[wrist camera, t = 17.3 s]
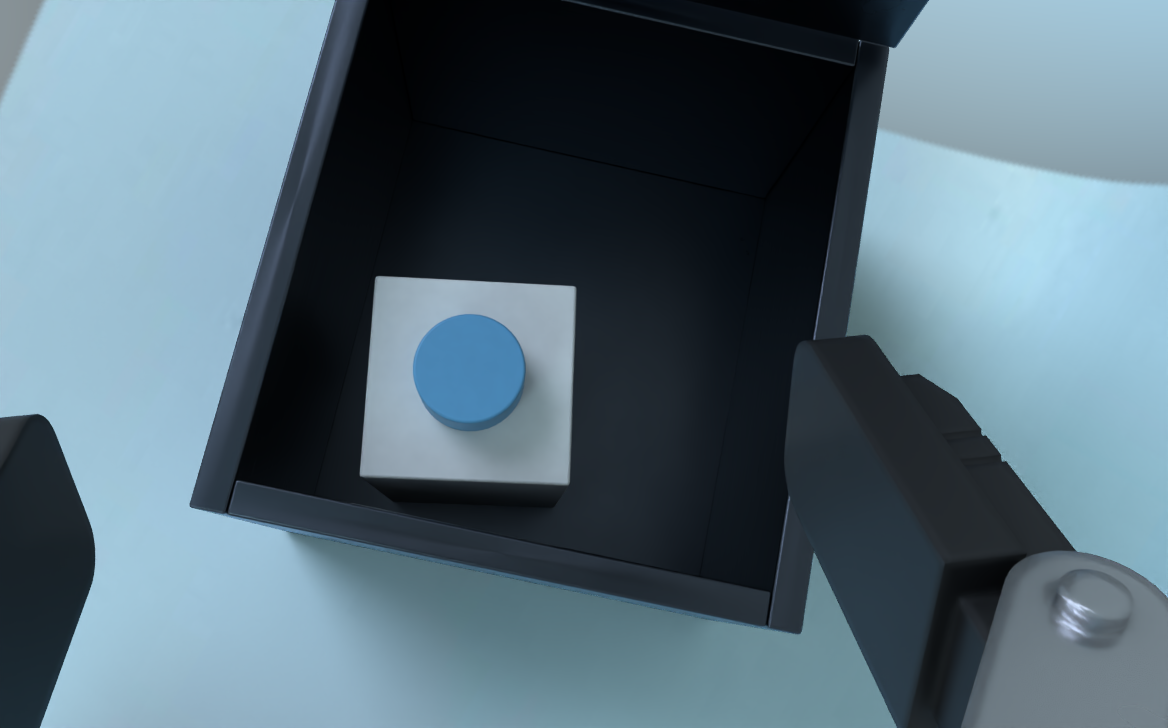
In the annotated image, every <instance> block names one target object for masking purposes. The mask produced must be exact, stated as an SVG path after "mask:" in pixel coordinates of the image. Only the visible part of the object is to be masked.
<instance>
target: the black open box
mask: <svg viewBox="0 0 1168 728" xmlns="http://www.w3.org/2000/svg"><path fill="white" fill-rule="evenodd" d="M888 54H889V47H888V46H883V45H879V44H874V43H870V42H866V41H859V40H857V39H853V38H848V37H844V36H839V35H835V34H831V33H826V32H822V31H818V30H813V29H809V28H804V27H800V26H796V25H791V24H787V23H783V22H778V21H774V20H770V19H765V18H761V17H756V16H752V15H748V14H743V13H739V12H735V11H730V10H726V9H721V8H717V7H713V6H708V5H704V4H700V3H695V2H691V1H686V0H335V3H334V6H333V10H332V13H331V17H330V20H329V24H328V27H327V31H326V34H325V38H324V41H323V45H322V48H321V51H320V55H319V58H318V62H317V65H316V69H315V72H314V76H313V79H312V83H311V86H310V89H309V93H308V96H307V100H306V103H305V107H304V110H303V114H302V117H301V121H300V124H299V128H298V131H297V134H296V138H295V141H294V145H293V148H292V152H291V155H290V159H289V162H288V166H287V169H286V172H285V176H284V179H283V183H282V186H281V190H280V193H279V197H278V200H277V204H276V207H275V211H274V214H273V217H272V221H271V224H270V228H269V231H268V235H267V238H266V242H265V245H264V249H263V252H262V255H261V259H260V262H259V266H258V269H257V273H256V276H255V280H254V283H253V287H252V290H251V294H250V297H249V300H248V304H247V307H246V311H245V314H244V318H243V321H242V325H241V328H240V332H239V335H238V338H237V342H236V345H235V349H234V352H233V356H232V359H231V363H230V366H229V370H228V373H227V377H226V380H225V383H224V387H223V390H222V394H221V397H220V401H219V404H218V408H217V411H216V415H215V418H214V421H213V425H212V428H211V432H210V435H209V439H208V442H207V446H206V449H205V453H204V456H203V459H202V463H201V466H200V470H199V473H198V477H197V480H196V484H195V487H194V491H193V494H192V498H191V501H190V507H191V508H195V509H199V510H203V511H207V512H211V513H215V514H219V515H223V516H227V517H231V518H235V519H239V520H243V521H247V522H251V523H255V524H259V525H263V526H267V527H271V528H275V529H279V530H284V531H288V532H293V533H298V534H302V535H307V536H312V537H317V538H321V539H326V540H331V541H336V542H341V543H345V544H350V545H355V546H360V547H364V548H369V549H374V550H379V551H384V552H388V553H393V554H398V555H403V556H407V557H412V558H417V559H422V560H427V561H431V562H436V563H441V564H446V565H450V566H455V567H460V568H465V569H470V570H474V571H479V572H484V573H489V574H493V575H498V576H503V577H508V578H513V579H517V580H522V581H527V582H532V583H536V584H541V585H546V586H551V587H556V588H560V589H565V590H570V591H575V592H580V593H584V594H589V595H594V596H599V597H603V598H608V599H613V600H618V601H623V602H627V603H632V604H637V605H642V606H646V607H651V608H656V609H661V610H666V611H670V612H675V613H680V614H685V615H689V616H694V617H699V618H704V619H709V620H714V621H720V622H726V623H732V624H738V625H744V626H750V627H756V628H762V629H768V630H774V631H780V632H786V633H792V634H800V633H801V631H802V626H803V619H804V613H805V606H806V599H807V593H808V586H809V579H810V573H811V566H812V559H813V553H814V550H813V548H812V546H811V543H810V541H809V539H808V537H807V535H806V533H805V531H804V529H803V526H802V524H801V522H800V520H799V518H798V516H797V514H796V512H795V509H794V507H793V505H792V502H791V499H790V496H789V492H788V488H787V483H786V477H785V467H784V449H785V439H786V429H787V420H788V410H789V400H790V390H791V381H792V371H793V362H794V355H795V351H796V348H797V346H798V345H799V343H800V342H801V341H808V340H819V339H829V338H839V337H846V334H847V327H848V320H849V314H850V307H851V300H852V294H853V287H854V280H855V274H856V267H857V261H858V254H859V247H860V241H861V234H862V227H863V221H864V214H865V207H866V201H867V194H868V187H869V181H870V174H871V168H872V161H873V154H874V148H875V141H876V134H877V128H878V121H879V114H880V108H881V101H882V94H883V88H884V81H885V74H886V67H887V61H888ZM377 276H391V277H410V278H428V279H447V280H466V281H485V282H504V283H523V284H542V285H561V286H574V287H576V289H577V297H576V325H575V354H574V383H573V412H572V441H571V470H570V484H569V486H568V487H567V489H566V490H565V492H564V493H563V495H562V496H561V498H560V499H559V501H558V502H557V504H556V505H555V507H553V508H549V507H523V506H496V505H470V504H444V503H417V502H394V501H392V500H390V499H389V498H388V497H386V496H385V495H384V494H382V493H381V492H380V491H378V490H377V489H376V488H375V487H373V486H372V485H371V484H369V483H368V482H367V481H365V480H364V479H363V478H361V477H360V464H361V451H362V438H363V426H364V413H365V400H366V387H367V375H368V362H369V349H370V336H371V324H372V311H373V298H374V285H375V278H376V277H377Z"/></svg>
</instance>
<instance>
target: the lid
mask: <svg viewBox="0 0 1168 728" xmlns="http://www.w3.org/2000/svg"><path fill="white" fill-rule="evenodd" d="M686 1H691V2H695V3H700V4H704V5H708V6H713V7H717V8H721V9H726V10H730V11H735V12H739V13H743V14H748V15H752V16H756V17H761V18H765V19H770V20H774V21H778V22H783V23H787V24H791V25H796V26H800V27H804V28H809V29H813V30H818V31H822V32H826V33H831V34H835V35H839V36H844V37H848V38H853V39H857V40H861V41H866V42H870V43H874V44H879V45H883V46H888V47H892V48H896V47H897V45H898V44H899V42H900V41H901V39H902V38H903V37H904V35H905V34H906V32H907V31H908V30H909V28H910V27H911V25H912V24H913V22H914V21H915V20H916V18H917V16H918V15H919V14H920V12H921V11H922V9H923V8H924V7H925V5H926V4H927V2H928V1H929V0H686Z"/></svg>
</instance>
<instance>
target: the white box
mask: <svg viewBox="0 0 1168 728" xmlns="http://www.w3.org/2000/svg"><path fill="white" fill-rule="evenodd" d="M576 297H577V289H576V287H574V286H561V285H542V284H523V283H504V282H485V281H466V280H447V279H428V278H410V277H391V276H377V277H376V278H375V285H374V298H373V311H372V324H371V336H370V349H369V362H368V375H367V387H366V400H365V413H364V426H363V438H362V451H361V464H360V477H361V478H363V479H364V480H365V481H367V482H368V483H369V484H371V485H372V486H373V487H375V488H376V489H377V490H378V491H380V492H381V493H382V494H384V495H385V496H386V497H388V498H389V499H390V500H392V501H394V502H417V503H444V504H470V505H496V506H523V507H549V508H553V507H555V505H556V504H557V502H558V501H559V499H560V498H561V496H562V495H563V493H564V492H565V490H566V489H567V487H568V486H569V484H570V470H571V441H572V412H573V383H574V354H575V325H576Z"/></svg>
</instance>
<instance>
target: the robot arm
mask: <svg viewBox="0 0 1168 728" xmlns="http://www.w3.org/2000/svg"><path fill="white" fill-rule="evenodd" d="M784 467H785V477H786V483H787V488H788V492H789V496H790V499H791V502H792V505H793V507H794V509H795V512H796V514H797V516H798V518H799V520H800V522H801V524H802V526H803V529H804V531H805V533H806V535H807V537H808V539H809V541H810V543H811V546H812V548H813V550H814V552H815V554H816V556H817V558H818V560H819V563H820V565H821V567H822V569H823V571H824V573H825V575H826V577H827V580H828V582H829V584H830V586H831V588H832V590H833V592H834V594H835V597H836V599H837V601H838V603H839V605H840V607H841V609H842V611H843V614H844V616H845V618H846V620H847V622H848V624H849V626H850V628H851V631H852V633H853V635H854V637H855V639H856V641H857V643H858V645H859V647H860V650H861V652H862V654H863V656H864V658H865V660H866V662H867V664H868V667H869V669H870V671H871V673H872V675H873V677H874V679H875V681H876V684H877V686H878V688H879V690H880V692H881V694H882V696H883V698H884V701H885V703H886V705H887V707H888V709H889V711H890V713H891V715H892V718H893V720H894V722H895V724H896V726H897V728H1168V598H1167V597H1166V596H1165V595H1164V594H1163V593H1162V592H1161V591H1160V590H1159V589H1158V588H1157V587H1156V586H1155V585H1154V584H1152V583H1151V582H1150V581H1148V580H1147V579H1146V578H1144V577H1143V576H1141V575H1140V574H1138V573H1136V572H1135V571H1133V570H1131V569H1130V568H1128V567H1125V566H1123V565H1121V564H1119V563H1117V562H1114V561H1112V560H1109V559H1106V558H1103V557H1100V556H1096V555H1092V554H1088V553H1082V552H1076V551H1075V549H1074V548H1073V547H1072V545H1071V544H1070V543H1069V542H1068V540H1067V539H1066V538H1065V536H1064V535H1063V534H1062V533H1061V531H1060V530H1059V529H1058V527H1057V526H1056V525H1055V524H1054V522H1053V521H1052V520H1051V518H1050V517H1049V516H1048V515H1047V513H1046V512H1045V511H1044V509H1043V508H1042V507H1041V506H1040V504H1039V503H1038V502H1037V500H1036V499H1035V498H1034V497H1033V495H1032V494H1031V493H1030V491H1029V490H1028V489H1027V488H1026V486H1025V485H1024V484H1023V482H1022V481H1021V480H1020V479H1019V477H1018V476H1017V475H1016V473H1015V472H1014V471H1013V470H1012V468H1011V467H1010V466H1009V464H1008V463H1007V462H1006V461H1004V462H1002V460H1001V454H1000V453H999V452H998V450H997V449H996V448H995V446H994V445H993V444H992V443H991V441H990V440H989V439H988V437H987V436H982V434H981V428H980V427H979V426H978V425H977V423H976V422H975V421H974V419H973V418H972V417H971V416H970V414H969V413H968V412H967V410H966V409H965V408H964V407H963V405H962V404H961V403H960V401H959V400H958V399H957V398H955V397H954V396H952V395H951V394H949V393H948V392H946V391H945V390H943V389H941V388H940V387H938V386H937V385H935V384H934V383H932V382H931V381H929V380H927V379H926V378H924V377H923V376H921V375H920V374H914V375H904V376H899V374H898V373H897V371H896V370H895V369H894V367H893V366H892V365H891V363H890V362H889V360H888V359H887V358H886V356H885V355H884V353H883V352H882V351H881V349H880V348H879V346H878V345H877V344H876V342H875V341H874V340H873V339H872V338H871V337H870V336H868V335H859V336H849V337H839V338H829V339H819V340H808V341H801V342H800V343H799V345H798V346H797V348H796V351H795V355H794V362H793V371H792V381H791V390H790V400H789V410H788V420H787V429H786V439H785V449H784ZM94 569H95V544H94V537H93V532H92V528H91V525H90V522H89V519H88V517H87V514H86V512H85V509H84V506H83V504H82V501H81V499H80V496H79V493H78V491H77V488H76V486H75V483H74V480H73V478H72V475H71V473H70V470H69V467H68V465H67V462H66V460H65V457H64V454H63V452H62V449H61V447H60V444H59V441H58V439H57V436H56V434H55V432H54V429H53V427H52V426H51V424H50V422H49V421H48V420H47V419H46V418H45V417H44V416H42V415H39V414H33V415H23V416H13V417H3V418H0V728H40V726H41V723H42V720H43V717H44V715H45V712H46V709H47V706H48V704H49V701H50V698H51V695H52V692H53V690H54V687H55V684H56V681H57V679H58V676H59V673H60V670H61V668H62V665H63V662H64V659H65V657H66V654H67V651H68V648H69V646H70V643H71V640H72V637H73V635H74V632H75V629H76V626H77V624H78V621H79V618H80V615H81V613H82V610H83V607H84V604H85V602H86V599H87V596H88V593H89V590H90V588H91V584H92V581H93V576H94Z"/></svg>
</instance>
